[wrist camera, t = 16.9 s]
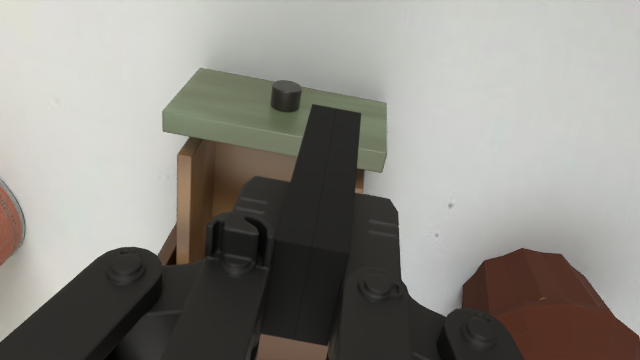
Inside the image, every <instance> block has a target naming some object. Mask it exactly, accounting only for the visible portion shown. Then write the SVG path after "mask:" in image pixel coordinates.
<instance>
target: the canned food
mask: <svg viewBox="0 0 640 360" xmlns="http://www.w3.org/2000/svg"><path fill="white" fill-rule="evenodd" d="M24 234H25V224H24V218H23V215H22V212H21V209H20V207H19V205H18V203H17V201H16V199H15V197H14V196H13V194H12V193H11V191H10V190H9V189H8V188H7V186H6V185H5V184H4V183H3V182H2V181H1V180H0V266H1V265H2V264H3V263H4V262H5V261H6V260H7V259H8V258H9V257H10V256H12V255H13V254H14V253H15V252H16V251H17V250H18V249H19V247H20V246H21V244H22V242H23V239H24Z"/></svg>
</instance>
